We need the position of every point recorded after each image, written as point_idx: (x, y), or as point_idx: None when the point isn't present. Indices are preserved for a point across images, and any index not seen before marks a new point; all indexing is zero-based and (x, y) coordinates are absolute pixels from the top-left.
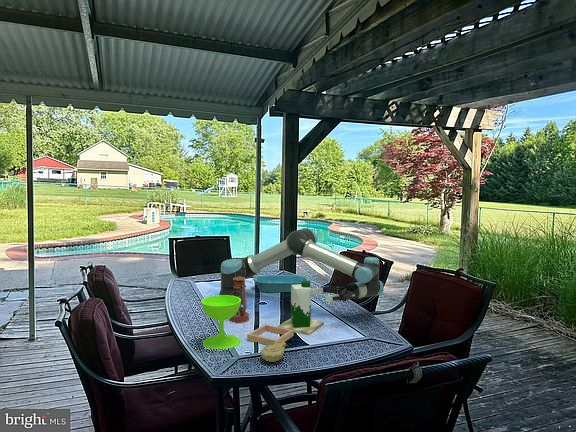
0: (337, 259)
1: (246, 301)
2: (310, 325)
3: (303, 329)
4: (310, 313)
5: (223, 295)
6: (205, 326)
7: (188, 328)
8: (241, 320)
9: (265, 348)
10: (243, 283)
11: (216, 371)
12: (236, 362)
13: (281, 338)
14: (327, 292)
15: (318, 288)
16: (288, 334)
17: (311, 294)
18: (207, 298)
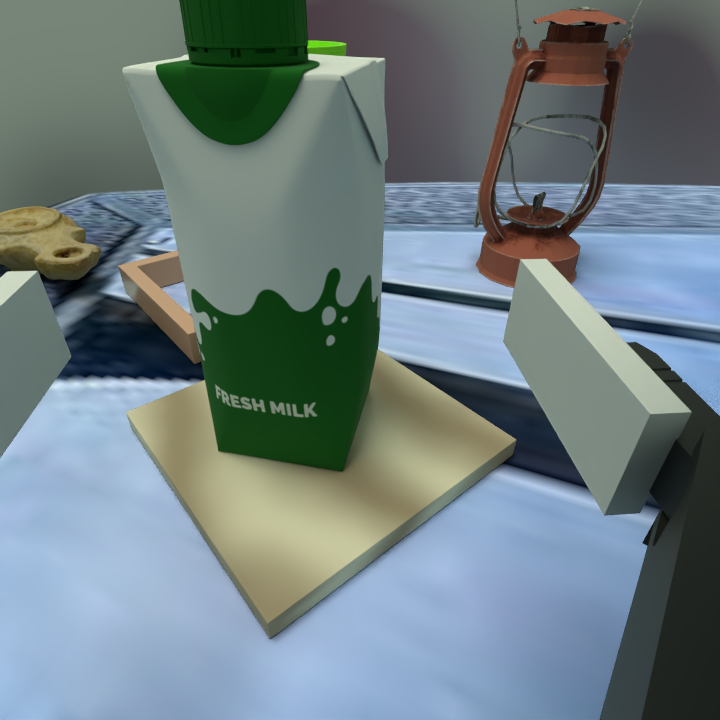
0: None
1: (577, 197)
2: (247, 466)
3: (203, 403)
4: (216, 369)
5: (336, 45)
6: (460, 212)
7: (452, 194)
8: (481, 256)
9: (37, 206)
10: (517, 43)
11: (111, 198)
12: (121, 220)
13: (133, 281)
14: (629, 612)
15: (586, 334)
16: (162, 313)
17: (505, 337)
18: (325, 44)
